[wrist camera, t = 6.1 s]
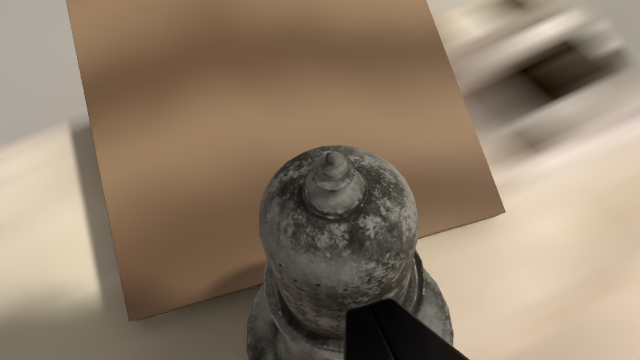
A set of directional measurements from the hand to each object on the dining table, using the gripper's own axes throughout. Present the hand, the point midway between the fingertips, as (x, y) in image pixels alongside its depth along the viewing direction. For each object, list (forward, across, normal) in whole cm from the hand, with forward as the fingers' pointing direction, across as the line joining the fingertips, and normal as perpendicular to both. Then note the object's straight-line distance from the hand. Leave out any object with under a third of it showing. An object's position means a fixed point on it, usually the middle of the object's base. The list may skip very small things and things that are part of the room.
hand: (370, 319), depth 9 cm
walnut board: (+14, 0, 0) cm, 14 cm away
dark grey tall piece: (+5, 0, +8) cm, 9 cm away
